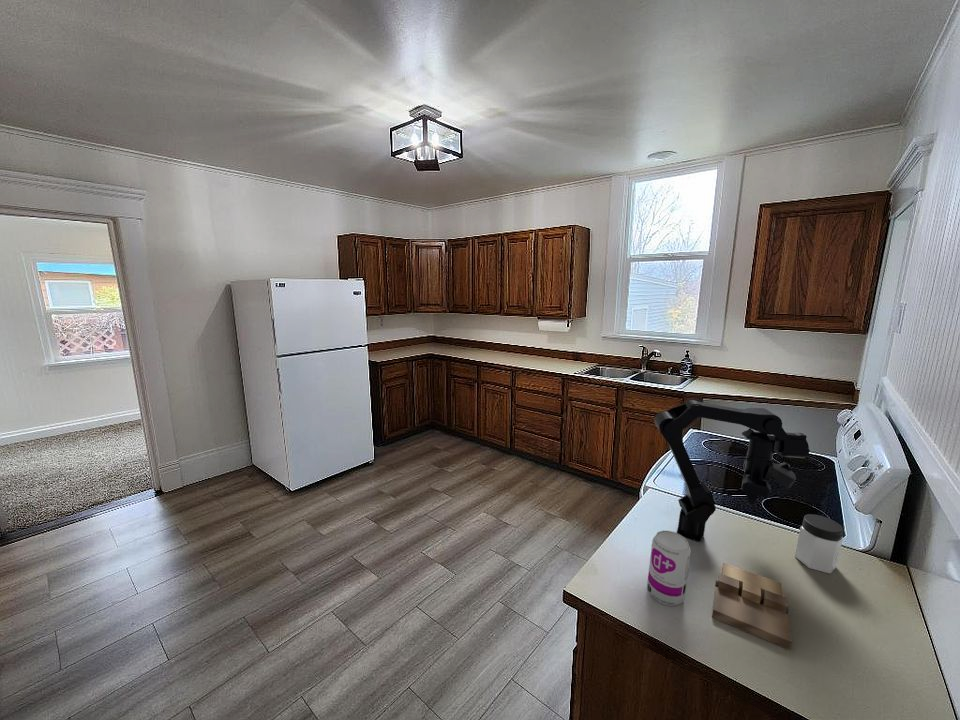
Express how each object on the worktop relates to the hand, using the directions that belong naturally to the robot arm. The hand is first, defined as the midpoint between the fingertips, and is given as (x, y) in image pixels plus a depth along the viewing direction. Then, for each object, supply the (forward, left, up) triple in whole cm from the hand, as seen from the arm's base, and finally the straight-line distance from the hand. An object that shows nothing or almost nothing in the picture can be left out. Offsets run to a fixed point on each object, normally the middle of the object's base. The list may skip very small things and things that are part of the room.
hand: (751, 503), depth 112 cm
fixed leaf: (+1, -31, -12) cm, 33 cm away
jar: (+16, 0, -12) cm, 20 cm away
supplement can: (-16, -36, -12) cm, 41 cm away
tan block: (+1, -25, -12) cm, 28 cm away
